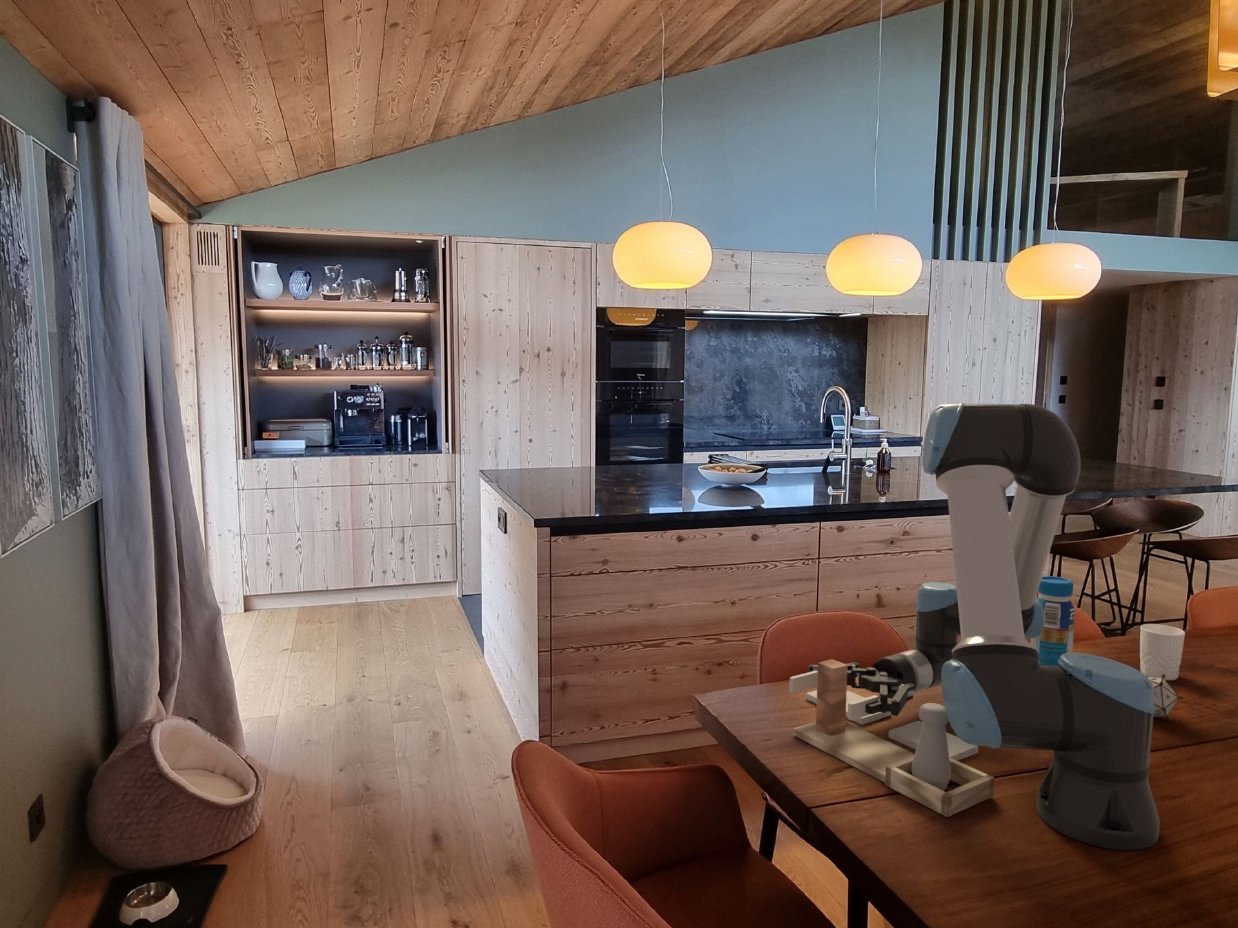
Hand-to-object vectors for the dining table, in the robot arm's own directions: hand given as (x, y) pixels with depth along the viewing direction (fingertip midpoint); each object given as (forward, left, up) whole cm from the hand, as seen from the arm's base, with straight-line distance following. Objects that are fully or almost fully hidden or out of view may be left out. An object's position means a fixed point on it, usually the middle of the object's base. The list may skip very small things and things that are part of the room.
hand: (819, 697), depth 141 cm
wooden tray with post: (-12, -3, -8) cm, 15 cm away
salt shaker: (-20, -4, -8) cm, 22 cm away
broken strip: (-1, -16, -8) cm, 18 cm away
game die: (-25, -61, -8) cm, 67 cm away
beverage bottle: (-1, -69, -8) cm, 70 cm away
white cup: (-15, -86, -8) cm, 88 cm away
